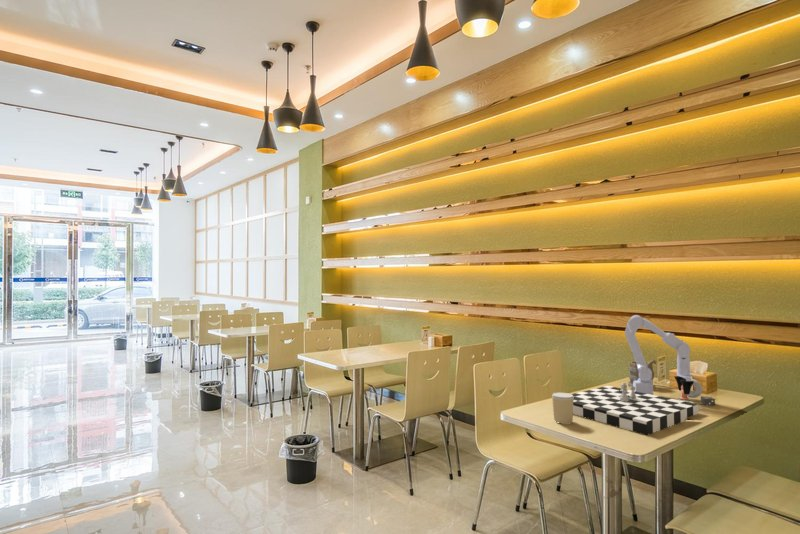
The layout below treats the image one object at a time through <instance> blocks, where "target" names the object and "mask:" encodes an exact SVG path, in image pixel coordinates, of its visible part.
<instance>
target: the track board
mask: <svg viewBox="0 0 800 534" xmlns="http://www.w3.org/2000/svg"><path fill="white" fill-rule="evenodd" d="M677 400H680V401H685V402H690V403H694V402H693V401H692V400H691V399H689V400H681V399H680V397H678V398H677ZM698 410H703V408H702V407H701V406H699V405H698Z"/></svg>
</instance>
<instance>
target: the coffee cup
mask: <svg viewBox="0 0 800 534" xmlns="http://www.w3.org/2000/svg"><path fill="white" fill-rule="evenodd" d="M572 394H573V393H568V392H559V391H558V392H553V393H552V395H551V398H552V411H553V421H554V420H555V421H556V422H559V423H564V424H563V425H570V424H569V423H571V424H573V421H574V420H573V418H574V414H573V401H574V397H573V395H572ZM555 421H554V422H555ZM556 422H555V423H556ZM559 423H558V424H559Z"/></svg>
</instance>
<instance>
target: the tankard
mask: <svg viewBox="0 0 800 534" xmlns="http://www.w3.org/2000/svg"><path fill="white" fill-rule="evenodd" d="M645 362H646V361H645ZM657 363H658V362H657V361H656V360H655V359H651V360H650V361H648V362H646V364H647V366H648V368H649V369H651V371H652V380H653V381H654V378H655V373H654V369H653V364H655V365H656V364H657ZM628 371H629V373H628V379H629V380H628V382H627V387H629V388H630V386H633V381H637V380H638V378H639V370H638V367H637V364H636V361H635V360H633V361H632V360H631V361H630V362H629V365H628Z"/></svg>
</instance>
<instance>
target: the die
mask: <svg viewBox="0 0 800 534" xmlns="http://www.w3.org/2000/svg"><path fill="white" fill-rule="evenodd" d="M700 404H702V405H703V406H714V407H715V406H716V399H715V398H713V397H712V396H704V395H703V396H701V395H700Z"/></svg>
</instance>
